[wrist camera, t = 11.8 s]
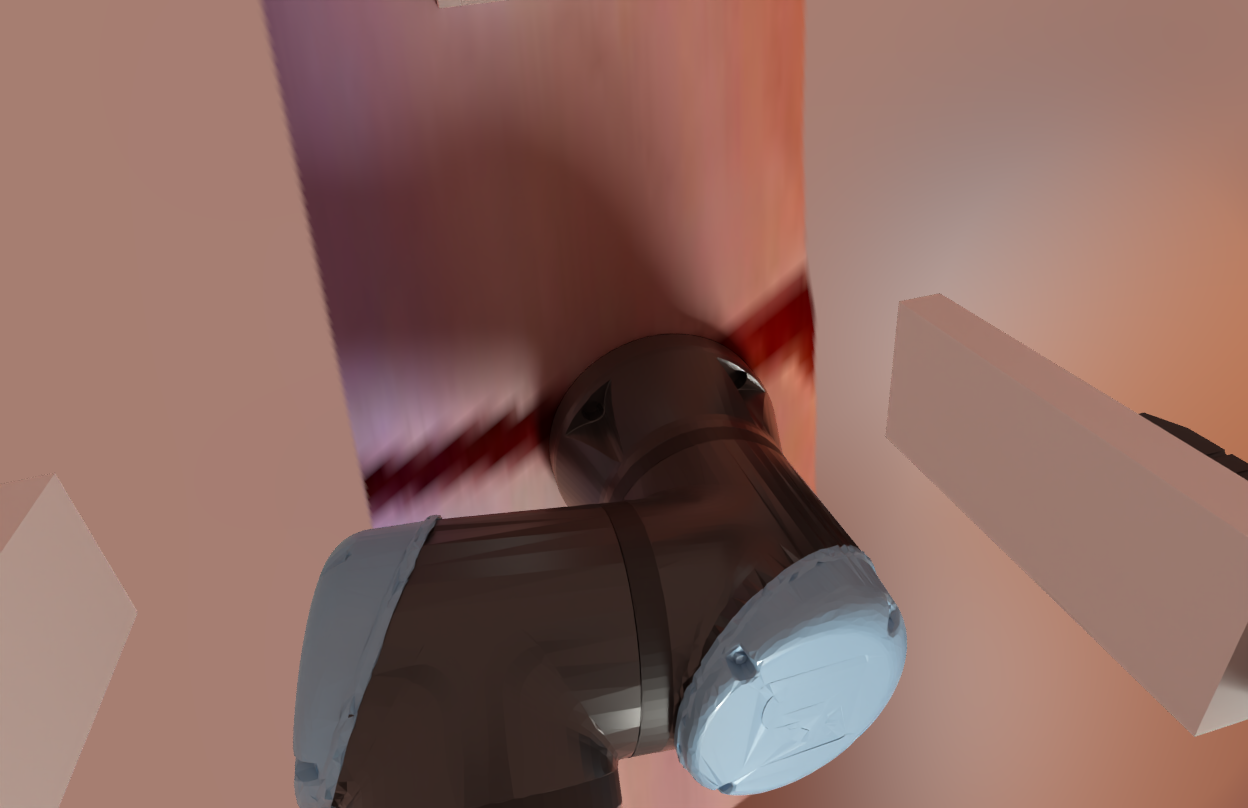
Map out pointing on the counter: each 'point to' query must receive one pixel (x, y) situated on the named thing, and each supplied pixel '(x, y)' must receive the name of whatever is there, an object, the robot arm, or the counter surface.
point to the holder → (460, 2)
